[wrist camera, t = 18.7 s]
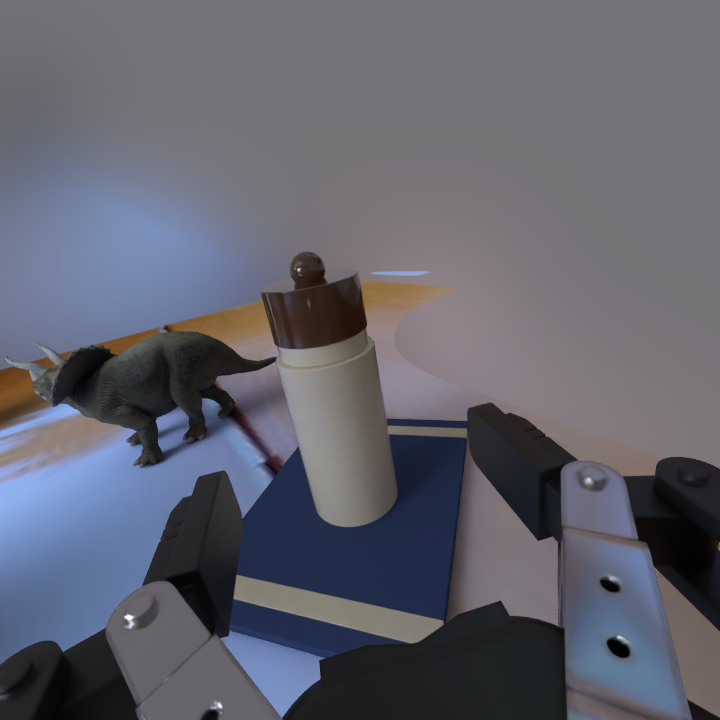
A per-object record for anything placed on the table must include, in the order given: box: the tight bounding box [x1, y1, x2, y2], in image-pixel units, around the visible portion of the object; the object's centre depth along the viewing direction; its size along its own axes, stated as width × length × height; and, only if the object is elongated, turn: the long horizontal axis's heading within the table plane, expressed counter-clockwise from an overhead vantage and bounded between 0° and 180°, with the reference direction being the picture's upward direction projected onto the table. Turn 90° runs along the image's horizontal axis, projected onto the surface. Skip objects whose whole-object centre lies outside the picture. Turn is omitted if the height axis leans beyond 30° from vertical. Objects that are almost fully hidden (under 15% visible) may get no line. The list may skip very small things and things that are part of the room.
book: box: [229, 419, 468, 658], centre depth 24 cm, size 13×18×1 cm
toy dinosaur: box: [5, 331, 277, 468], centre depth 34 cm, size 22×8×11 cm, turn 114°
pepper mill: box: [261, 251, 398, 527], centre depth 21 cm, size 5×5×15 cm
